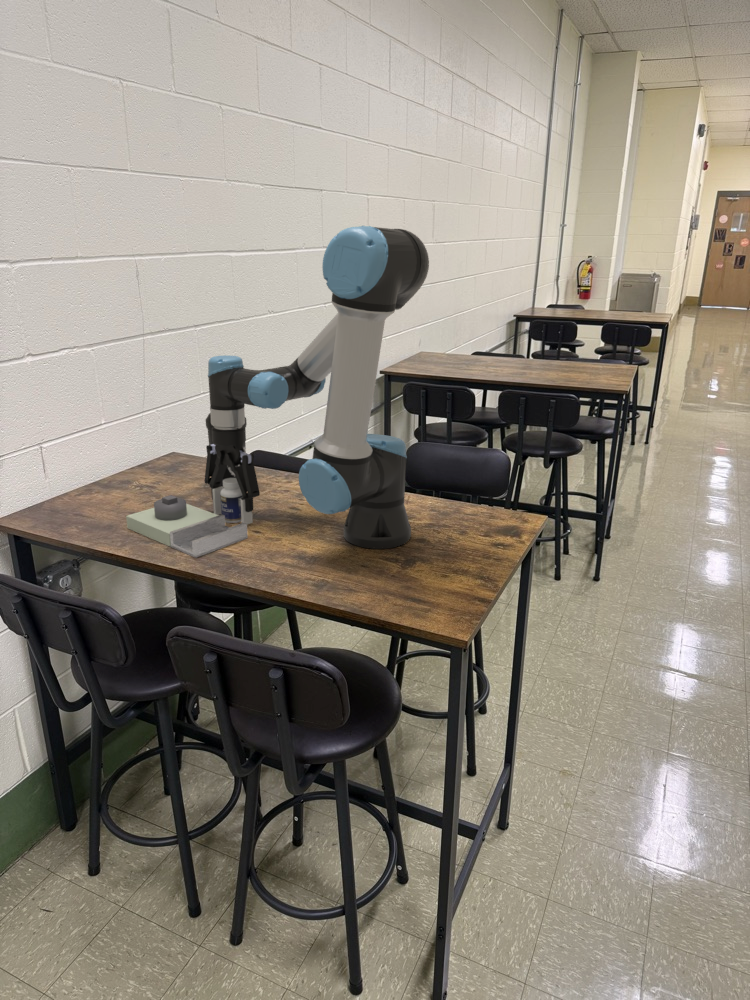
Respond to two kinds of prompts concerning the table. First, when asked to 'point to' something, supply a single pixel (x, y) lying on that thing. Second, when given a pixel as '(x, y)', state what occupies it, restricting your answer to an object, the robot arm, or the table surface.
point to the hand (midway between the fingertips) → (232, 518)
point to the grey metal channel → (207, 536)
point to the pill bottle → (231, 500)
